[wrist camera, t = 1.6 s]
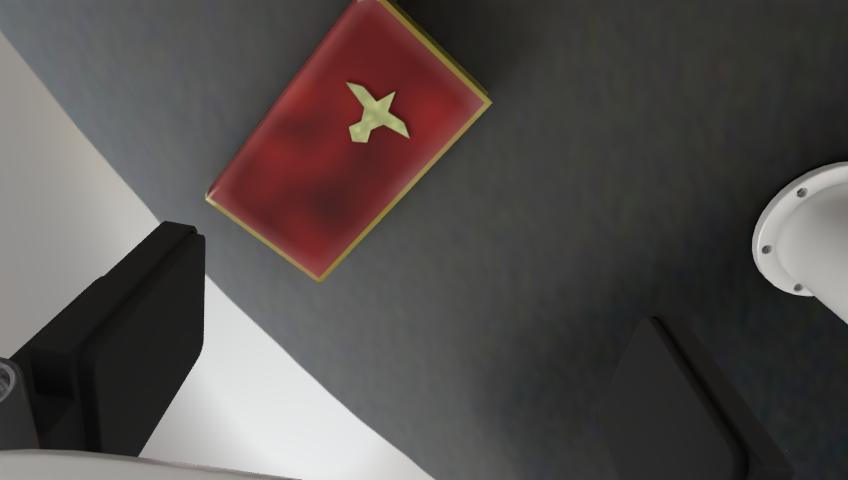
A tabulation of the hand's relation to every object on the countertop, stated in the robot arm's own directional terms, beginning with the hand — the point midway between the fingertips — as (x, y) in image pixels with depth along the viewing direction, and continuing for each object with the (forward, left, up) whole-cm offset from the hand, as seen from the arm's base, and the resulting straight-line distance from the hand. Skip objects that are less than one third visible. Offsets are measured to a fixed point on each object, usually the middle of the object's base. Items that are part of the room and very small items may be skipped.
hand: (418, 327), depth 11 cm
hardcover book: (+8, +3, -34) cm, 35 cm away
